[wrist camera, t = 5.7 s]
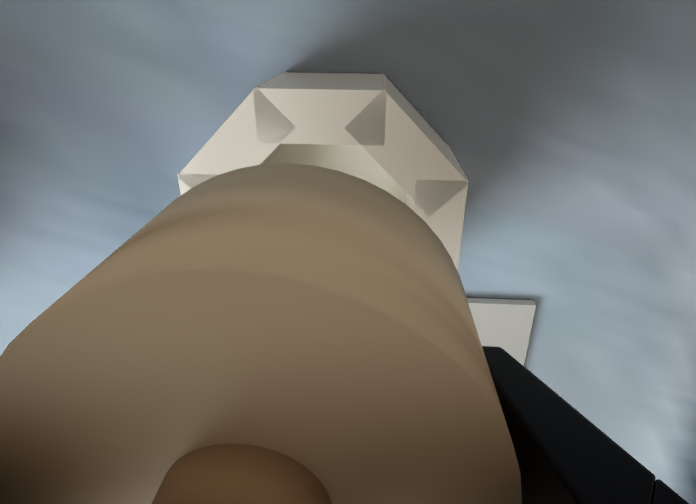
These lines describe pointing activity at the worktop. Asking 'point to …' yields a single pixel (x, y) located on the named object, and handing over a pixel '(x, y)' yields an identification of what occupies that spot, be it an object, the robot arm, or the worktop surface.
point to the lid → (260, 360)
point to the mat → (504, 324)
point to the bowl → (343, 143)
